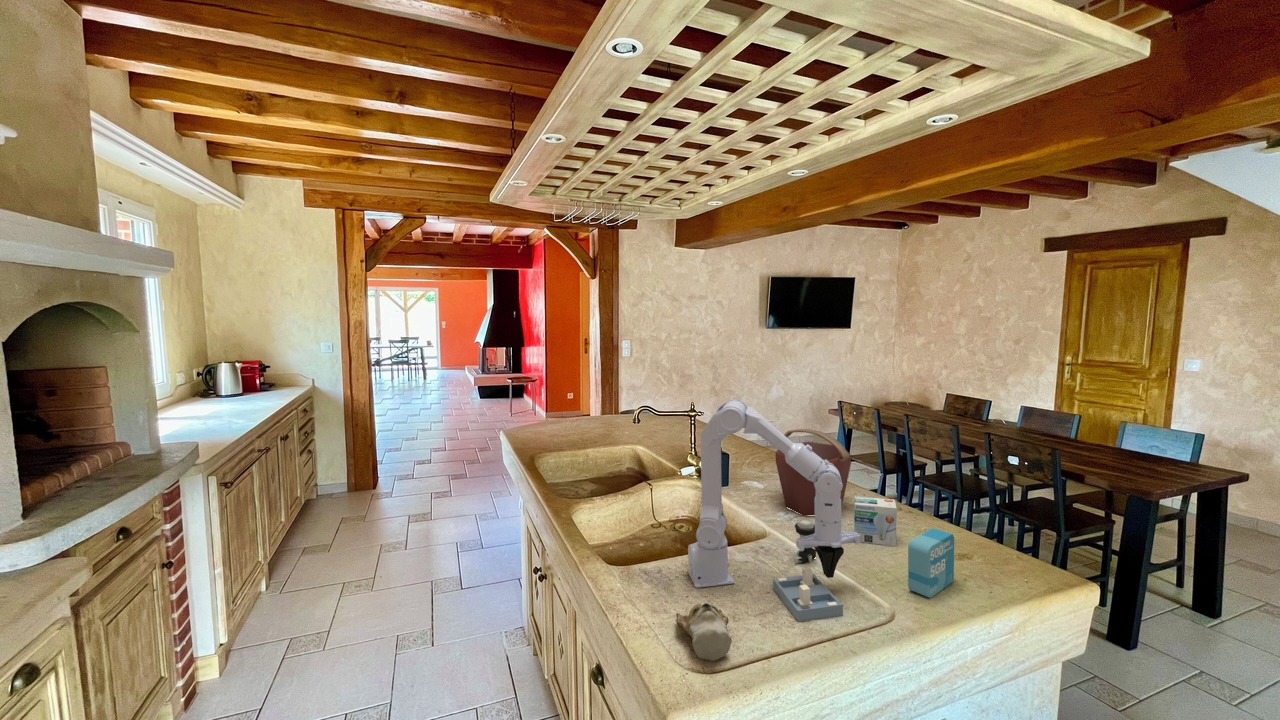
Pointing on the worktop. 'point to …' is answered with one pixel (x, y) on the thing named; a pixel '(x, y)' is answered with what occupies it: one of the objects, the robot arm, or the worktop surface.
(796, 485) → the bucket
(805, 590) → the tab near
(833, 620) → the worktop surface
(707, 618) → the ceramic sculpture
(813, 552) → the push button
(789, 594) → the dip bank
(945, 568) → the data package
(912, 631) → the worktop surface
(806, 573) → the tab far
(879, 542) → the light bulb box
